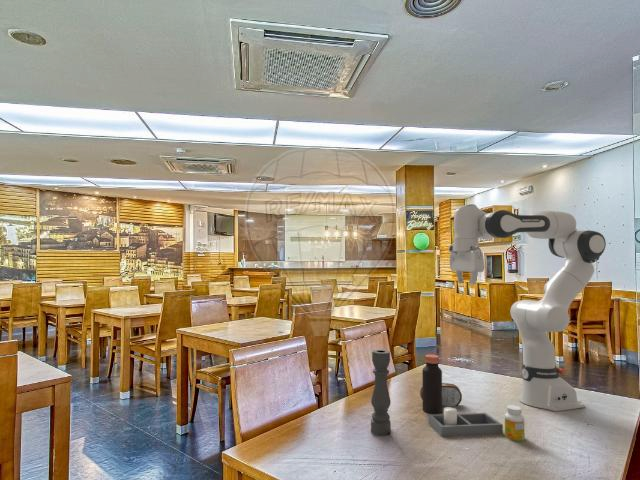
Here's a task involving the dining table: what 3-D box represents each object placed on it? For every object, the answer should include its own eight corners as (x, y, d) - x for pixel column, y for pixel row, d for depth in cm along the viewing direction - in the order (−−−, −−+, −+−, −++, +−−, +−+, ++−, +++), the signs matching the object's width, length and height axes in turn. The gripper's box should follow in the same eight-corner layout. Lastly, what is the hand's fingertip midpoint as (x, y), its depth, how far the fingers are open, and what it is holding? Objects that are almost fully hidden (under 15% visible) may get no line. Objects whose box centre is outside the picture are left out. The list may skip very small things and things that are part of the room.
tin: (460, 405, 152) (460, 383, 153) (462, 408, 149) (462, 385, 150) (419, 404, 154) (419, 381, 154) (421, 407, 151) (421, 383, 151)
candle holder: (392, 429, 130) (392, 350, 131) (388, 437, 124) (389, 354, 125) (373, 426, 132) (373, 348, 133) (368, 434, 126) (369, 352, 127)
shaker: (453, 425, 131) (453, 407, 131) (459, 431, 127) (459, 411, 127) (441, 426, 130) (441, 407, 131) (447, 431, 126) (447, 412, 127)
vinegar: (443, 411, 146) (443, 355, 147) (440, 417, 140) (440, 359, 141) (424, 408, 149) (424, 353, 150) (420, 414, 143) (420, 356, 144)
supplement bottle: (501, 436, 125) (501, 404, 126) (518, 436, 126) (517, 404, 126) (511, 444, 120) (510, 410, 121) (528, 443, 120) (527, 410, 121)
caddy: (485, 423, 136) (485, 412, 136) (502, 436, 126) (502, 424, 126) (428, 425, 133) (428, 414, 133) (441, 438, 123) (441, 427, 123)
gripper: (488, 246, 144) (489, 285, 143) (461, 248, 164) (461, 282, 163) (471, 245, 143) (472, 285, 142) (446, 247, 163) (446, 282, 163)
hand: (466, 283), depth 153 cm, fingers open, 8 cm apart
